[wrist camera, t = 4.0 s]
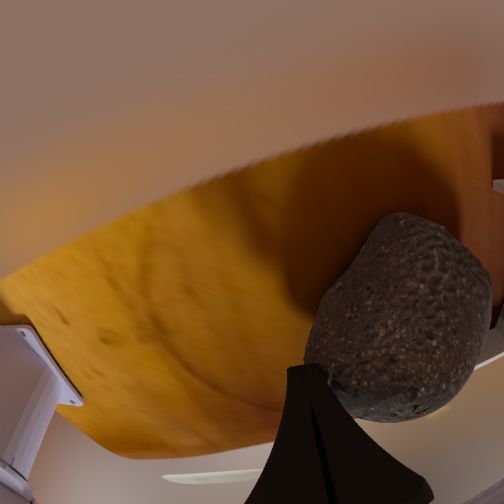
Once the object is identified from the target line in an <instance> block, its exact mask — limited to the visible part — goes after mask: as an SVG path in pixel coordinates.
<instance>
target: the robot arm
mask: <svg viewBox="0 0 504 504" xmlns="http://www.w3.org/2000/svg"><path fill="white" fill-rule="evenodd" d="M58 403H59V404H66V405H74V406H83V404H84V400H83V399H82V397H81V396H80V395H79V394H78V393H77V391H76V390H75V389H74V387H73V386H72V385H71V384H70V382H69V381H68V380H67V378H66V377H65V376H64V374H63V373H62V371H61V370H60V369H59V367H58V366H57V364H56V363H55V362H54V360H53V359H52V357H51V356H50V354H49V353H48V351H47V350H46V348H45V347H44V345H43V344H42V342H41V340H40V339H39V337H38V336H37V334H36V332H35V331H34V329H33V328H32V327H31V326H29V325H26V324H24V325H0V504H37V502H36V500H35V499H34V498H33V492H34V489H35V488H34V487H33V486H31V485H30V484H28V483H27V482H26V481H27V480H28V477H29V474H30V471H31V469H32V466H33V463H34V460H35V457H36V455H37V452H38V449H39V447H40V444H41V442H42V439H43V437H44V434H45V432H46V429H47V427H48V425H49V422H50V420H51V418H52V415H53V413H54V411H55V408H56V406H57V404H58ZM433 499H434V495H433V492H432V490H431V488H430V486H429V484H428V483H427V481H426V480H425V478H424V477H422V476H420V475H418V474H417V473H415V472H414V471H412V470H411V469H409V468H408V467H406V466H405V465H403V464H402V463H400V462H399V461H398V460H396V459H395V458H394V457H392V456H391V455H390V454H389V453H388V452H386V451H385V450H384V449H383V448H382V447H380V446H379V445H378V444H377V443H376V442H375V441H374V440H373V439H372V438H371V437H369V436H368V434H366V432H365V431H364V430H363V429H362V428H361V427H360V426H359V425H358V424H357V423H356V422H355V420H354V419H353V418H352V417H351V416H350V414H349V413H348V412H347V411H346V409H345V408H344V407H343V406H342V404H341V403H340V401H339V400H338V399H337V397H336V396H335V394H334V393H333V391H332V390H331V388H330V387H329V385H328V383H327V382H326V380H325V378H324V376H323V375H322V373H321V371H320V369H319V366H318V364H317V363H310V364H305V365H299V366H293V367H289V368H288V369H287V391H286V399H285V404H284V410H283V415H282V419H281V422H280V426H279V430H278V433H277V436H276V439H275V442H274V445H273V448H272V450H271V453H270V456H269V458H268V460H267V462H266V465H265V467H264V469H263V471H262V473H261V475H260V477H259V479H258V481H257V483H256V485H255V487H254V488H253V490H252V492H251V494H250V495H249V497H248V498H247V500H246V502H245V503H244V504H429V503H430V502H431V501H432V500H433ZM462 504H504V478H503V479H502V480H500V481H499V482H497V483H496V484H494V485H493V486H491V487H490V488H488V489H487V490H485V491H483V492H482V493H480V494H478V495H477V496H475V497H473V498H471V499H470V500H468V501H466V502H464V503H462Z"/></svg>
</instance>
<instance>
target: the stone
mask: <svg viewBox="0 0 504 504" xmlns="http://www.w3.org/2000/svg"><path fill="white" fill-rule="evenodd" d="M492 296H493V292H492V289H491V283H490V276H489V273H488V272H487V270H486V269H485V268H484V267H483V266H482V265H481V263H480V261H479V259H477V258H476V257H474V256H473V255H472V254H471V252H470V251H469V250H468V249H467V248H466V247H465V246H463V245H462V244H461V243H460V242H459V241H458V240H457V239H456V238H455V237H454V236H453V235H452V234H451V233H450V232H449V231H448V230H447V229H446V228H445V227H444V226H441V225H439V224H436V223H434V222H432V221H429V220H427V219H424V218H422V217H419V216H417V215H414V214H411V213H403V212H396V213H392V214H389V215H386V216H382V218H381V219H380V220H379V222H378V223H377V224H376V226H375V227H374V229H373V230H372V232H371V234H370V235H369V237H368V239H367V240H366V242H365V243H364V245H363V247H362V248H361V250H360V252H359V253H358V255H357V256H356V258H355V259H354V261H353V262H352V264H351V265H350V267H349V268H348V269H347V270H346V271H345V272H344V273H343V274H342V275H341V277H340V278H339V279H338V280H337V281H336V282H335V283H334V284H333V285H332V286H331V287H330V288H329V289H328V290H327V291H326V293H325V294H324V295H323V297H322V300H321V302H320V305H319V308H318V311H317V314H316V317H315V320H314V323H313V326H312V328H311V331H310V334H309V337H308V341H307V344H306V348H305V356H304V358H303V360H304V365H305V364H310V363H317V364H318V366H319V369H320V371H321V373H322V375H323V376H324V378H325V380H326V382H327V383H328V385H329V387H330V388H331V390H332V391H333V393H334V394H335V396H336V397H337V399H338V400H339V401H340V403H341V404H342V406H343V407H344V408H345V409H346V411H347V412H348V413H349V414H350V415H351V416H354V417H356V418H360V419H364V420H369V421H375V422H380V423H396V422H403V421H411V420H414V419H417V418H420V417H423V416H425V415H427V414H430V413H432V412H434V411H436V410H438V409H439V408H441V407H443V406H444V405H446V404H447V403H448V402H449V401H451V400H452V399H453V398H454V397H455V396H456V395H457V394H458V392H459V391H460V390H461V389H462V387H463V386H464V385H465V383H466V382H467V380H468V379H469V377H470V376H471V374H472V372H473V370H474V368H475V366H476V364H477V362H478V359H479V357H480V355H481V352H482V350H483V347H484V344H485V341H486V338H487V335H488V331H489V327H490V322H491V317H492Z"/></svg>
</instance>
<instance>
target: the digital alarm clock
mask: <svg viewBox="0 0 504 504" xmlns="http://www.w3.org/2000/svg"><path fill="white" fill-rule="evenodd" d="M492 189H494V190H496V191H498V192H500V193H502V194H504V179H499V180H493V186H492ZM503 355H504V304H503V307H502V310H501V313H500V316H499V318H498V321H497V324H496V326H495V328H493V329H491V330H489V331H488V335H487V338H486V341H485V344H484V347H483V350H482V352H481V355H480V357H479V359H478V362H477V364H476V366H475V368H474V370H475V369H477V368H480V367H482V366H484V365H486V364H488V363H490V362H492V361H494V360H495V359H498V358H499V357H501V356H503Z"/></svg>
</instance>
